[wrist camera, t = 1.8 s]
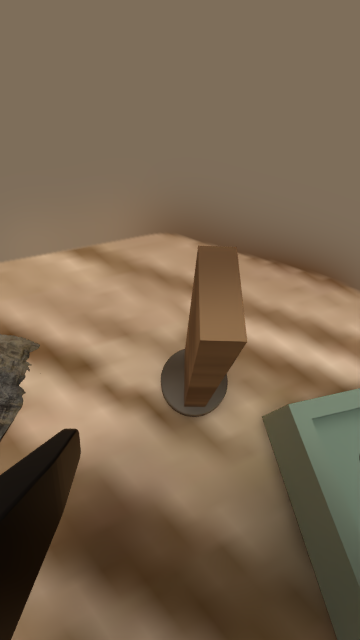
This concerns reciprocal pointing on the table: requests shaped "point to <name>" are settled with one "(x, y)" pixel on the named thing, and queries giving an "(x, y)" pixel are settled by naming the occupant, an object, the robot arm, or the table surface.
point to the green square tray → (325, 494)
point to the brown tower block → (208, 335)
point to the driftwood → (12, 376)
